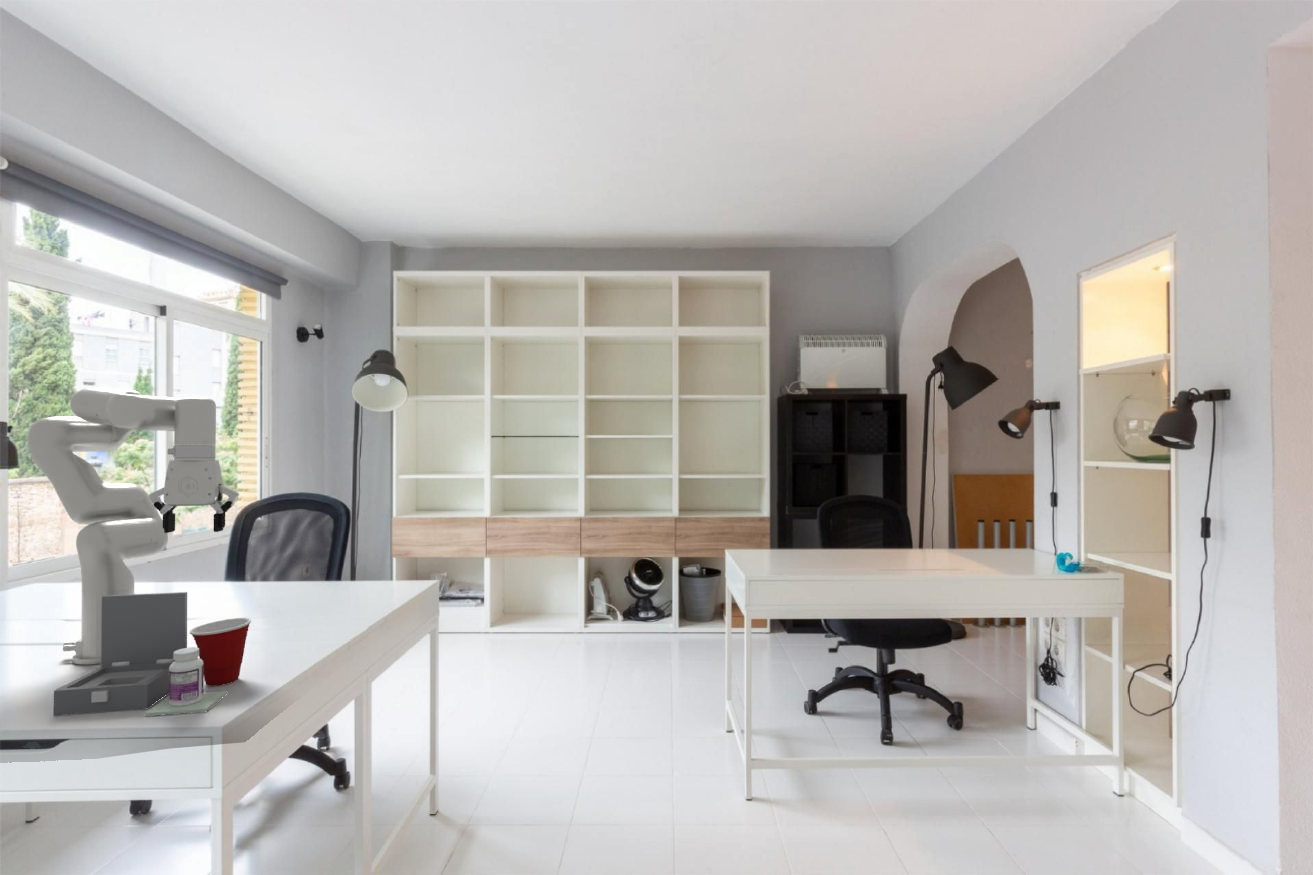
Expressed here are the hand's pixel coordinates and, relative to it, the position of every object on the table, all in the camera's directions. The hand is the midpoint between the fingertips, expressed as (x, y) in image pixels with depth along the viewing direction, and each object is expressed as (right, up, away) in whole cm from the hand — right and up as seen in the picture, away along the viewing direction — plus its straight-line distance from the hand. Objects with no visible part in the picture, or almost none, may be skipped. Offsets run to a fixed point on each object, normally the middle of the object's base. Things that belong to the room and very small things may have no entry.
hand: (194, 531), depth 148 cm
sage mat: (+14, -30, -22) cm, 39 cm away
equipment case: (-1, -30, -18) cm, 35 cm away
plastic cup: (+12, -30, -9) cm, 33 cm away
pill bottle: (+13, -29, -21) cm, 39 cm away
